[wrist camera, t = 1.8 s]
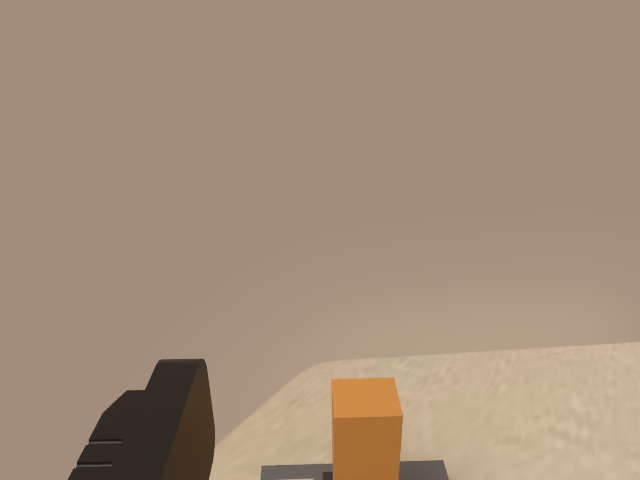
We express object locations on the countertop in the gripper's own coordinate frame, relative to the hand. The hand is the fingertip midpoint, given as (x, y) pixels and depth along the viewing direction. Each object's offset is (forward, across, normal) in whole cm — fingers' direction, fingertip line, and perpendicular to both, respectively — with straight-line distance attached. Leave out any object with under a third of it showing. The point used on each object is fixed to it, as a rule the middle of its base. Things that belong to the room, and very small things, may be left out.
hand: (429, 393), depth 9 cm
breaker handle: (+11, 0, +21) cm, 24 cm away
